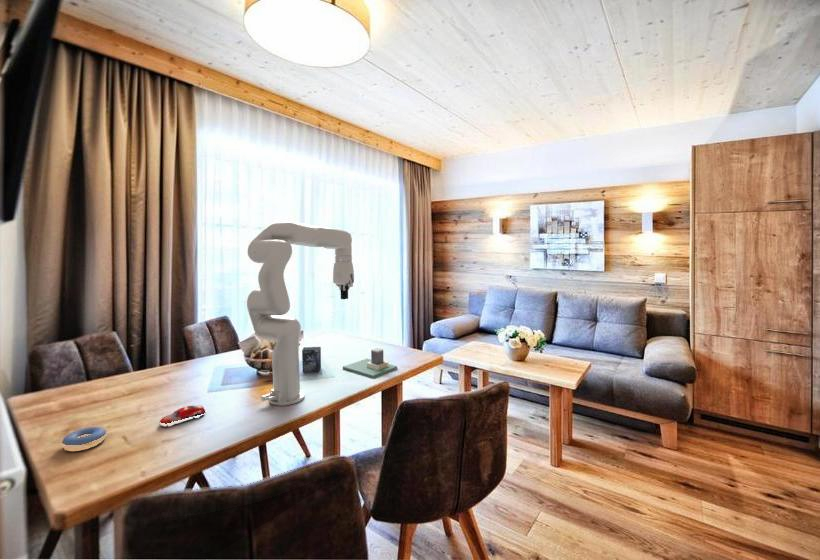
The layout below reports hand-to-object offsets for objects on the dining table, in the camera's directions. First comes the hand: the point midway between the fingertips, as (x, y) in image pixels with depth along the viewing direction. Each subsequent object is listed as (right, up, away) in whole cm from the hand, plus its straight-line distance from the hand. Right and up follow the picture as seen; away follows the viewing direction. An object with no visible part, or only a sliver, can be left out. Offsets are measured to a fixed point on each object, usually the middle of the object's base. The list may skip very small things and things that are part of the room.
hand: (344, 298), depth 173 cm
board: (+12, -33, +1) cm, 35 cm away
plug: (+15, -32, +1) cm, 35 cm away
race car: (-45, -38, -49) cm, 77 cm away
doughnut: (-65, -40, -64) cm, 99 cm away
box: (-15, -34, 0) cm, 37 cm away
